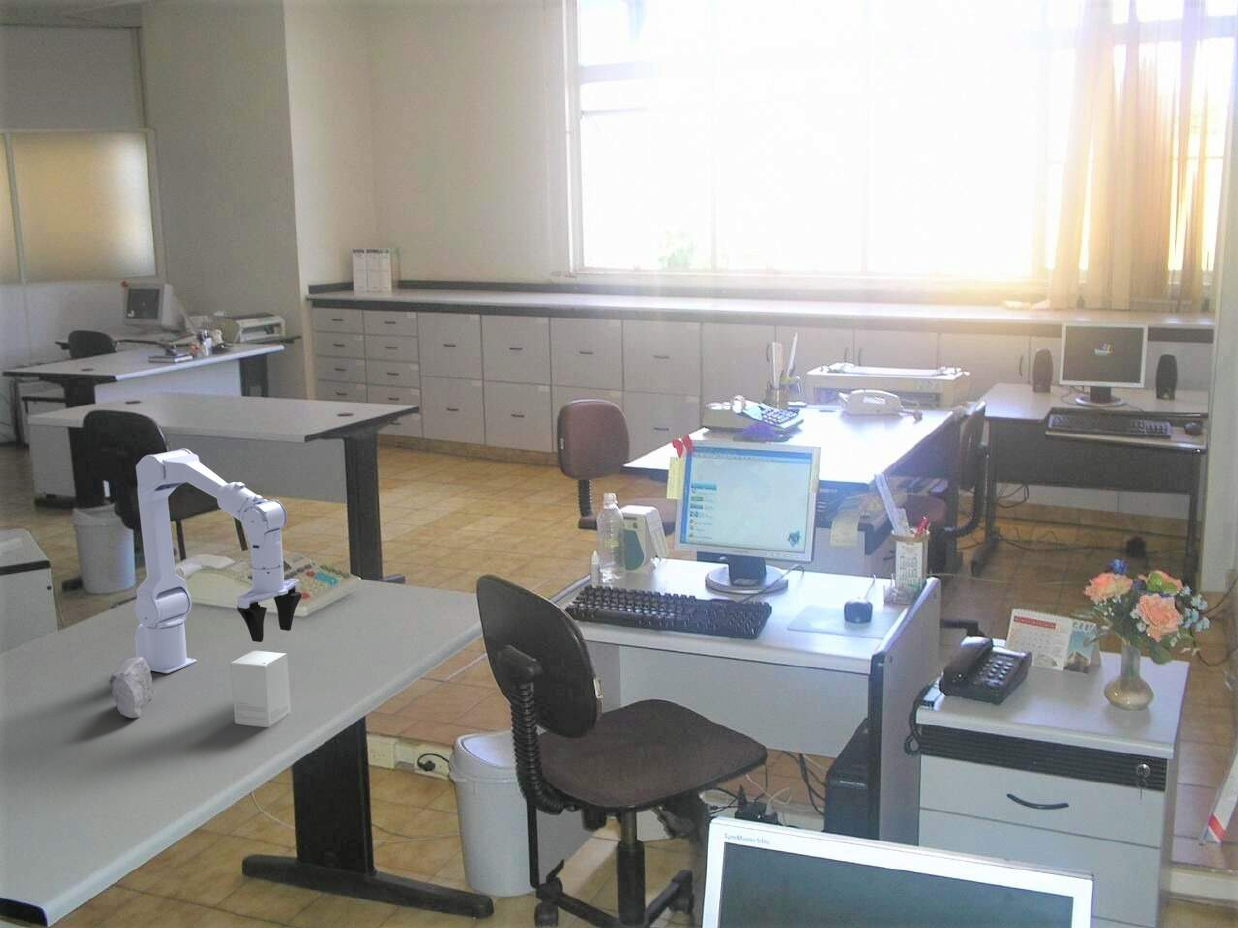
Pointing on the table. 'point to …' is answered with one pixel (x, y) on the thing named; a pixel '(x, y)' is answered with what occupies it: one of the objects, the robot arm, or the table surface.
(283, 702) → the supplement box
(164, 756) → the table surface
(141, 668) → the stone block
